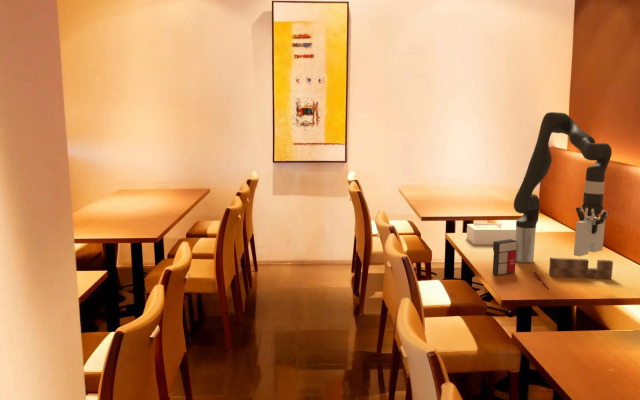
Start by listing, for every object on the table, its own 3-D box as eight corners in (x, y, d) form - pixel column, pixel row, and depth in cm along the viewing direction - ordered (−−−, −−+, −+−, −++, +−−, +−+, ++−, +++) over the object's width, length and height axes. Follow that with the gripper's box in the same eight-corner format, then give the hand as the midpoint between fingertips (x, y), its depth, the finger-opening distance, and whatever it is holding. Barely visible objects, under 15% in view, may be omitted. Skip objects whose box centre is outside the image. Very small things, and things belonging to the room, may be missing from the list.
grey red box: (498, 275, 265) (500, 243, 263) (491, 273, 269) (493, 241, 267) (516, 272, 270) (518, 241, 268) (509, 270, 274) (511, 239, 272)
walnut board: (550, 276, 266) (551, 258, 264) (548, 274, 268) (550, 257, 267) (611, 279, 262) (613, 261, 260) (609, 277, 264) (611, 260, 263)
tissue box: (518, 245, 325) (519, 225, 323) (473, 244, 324) (474, 225, 322) (509, 238, 339) (510, 220, 337) (466, 238, 338) (467, 220, 336)
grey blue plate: (579, 256, 241) (582, 222, 239) (573, 255, 243) (576, 221, 240) (602, 250, 251) (605, 218, 249) (596, 249, 253) (599, 217, 251)
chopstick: (546, 290, 247) (547, 288, 247) (531, 274, 270) (531, 272, 270) (551, 290, 247) (551, 288, 246) (535, 274, 270) (535, 272, 270)
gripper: (573, 190, 246) (569, 230, 249) (605, 194, 235) (601, 237, 238) (582, 188, 251) (579, 228, 253) (615, 193, 239) (611, 234, 242)
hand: (590, 232), depth 246 cm, fingers closed on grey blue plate, 2 cm apart
